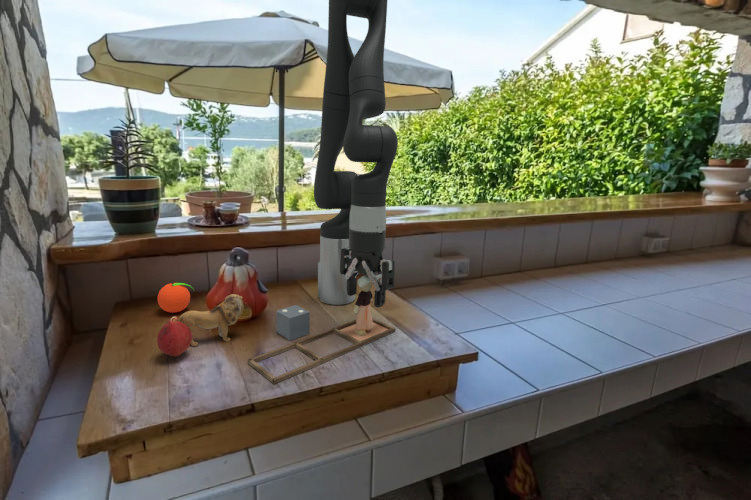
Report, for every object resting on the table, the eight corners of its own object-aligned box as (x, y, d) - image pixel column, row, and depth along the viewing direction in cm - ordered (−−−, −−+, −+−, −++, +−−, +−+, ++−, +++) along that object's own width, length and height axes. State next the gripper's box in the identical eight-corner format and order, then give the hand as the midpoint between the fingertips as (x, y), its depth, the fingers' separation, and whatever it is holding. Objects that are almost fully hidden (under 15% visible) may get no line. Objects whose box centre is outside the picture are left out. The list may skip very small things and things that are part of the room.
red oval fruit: (171, 367, 73) (167, 326, 71) (152, 358, 76) (148, 318, 74) (199, 354, 78) (196, 315, 76) (181, 346, 81) (177, 308, 79)
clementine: (194, 303, 102) (192, 276, 100) (197, 314, 96) (195, 285, 94) (158, 308, 98) (155, 280, 96) (159, 319, 92) (156, 289, 90)
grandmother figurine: (367, 339, 86) (369, 282, 83) (349, 336, 87) (351, 279, 84) (377, 324, 93) (379, 271, 90) (361, 321, 94) (363, 269, 91)
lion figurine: (241, 328, 90) (240, 289, 87) (248, 338, 85) (246, 297, 83) (167, 342, 82) (163, 300, 80) (169, 354, 78) (165, 310, 76)
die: (276, 332, 88) (276, 310, 87) (296, 325, 92) (295, 304, 90) (289, 340, 85) (289, 317, 84) (309, 333, 88) (309, 311, 87)
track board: (248, 363, 76) (247, 359, 75) (366, 318, 97) (367, 315, 97) (274, 384, 70) (274, 380, 69) (395, 331, 91) (395, 328, 91)
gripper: (331, 223, 86) (330, 295, 90) (379, 235, 77) (376, 315, 81) (357, 219, 91) (355, 287, 96) (405, 230, 82) (401, 306, 86)
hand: (365, 300), depth 88 cm, fingers open, 8 cm apart
